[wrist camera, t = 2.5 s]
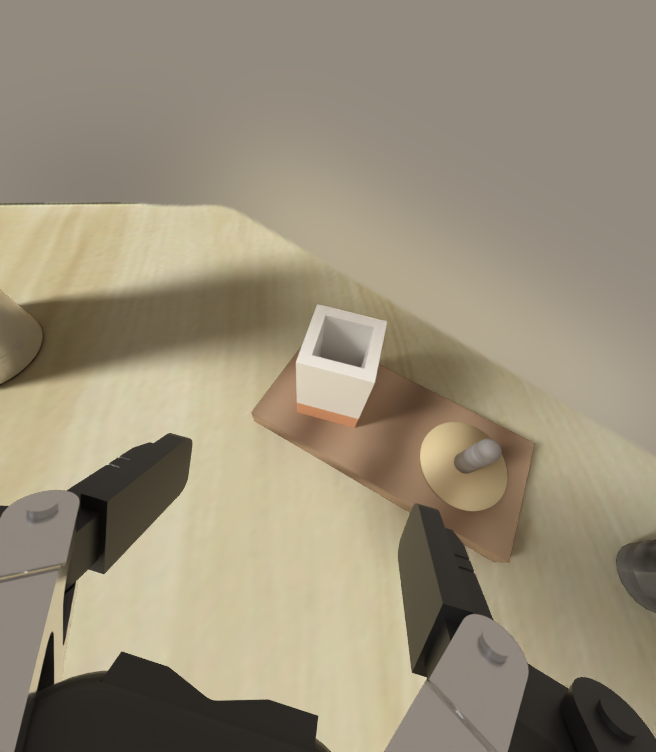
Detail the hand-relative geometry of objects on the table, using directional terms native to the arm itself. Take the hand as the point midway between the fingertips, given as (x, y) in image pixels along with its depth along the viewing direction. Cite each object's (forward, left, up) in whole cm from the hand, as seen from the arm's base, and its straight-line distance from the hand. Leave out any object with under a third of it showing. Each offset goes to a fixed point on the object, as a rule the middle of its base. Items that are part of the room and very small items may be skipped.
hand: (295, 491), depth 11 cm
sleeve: (-3, +10, -13) cm, 17 cm away
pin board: (+3, +10, -15) cm, 18 cm away
